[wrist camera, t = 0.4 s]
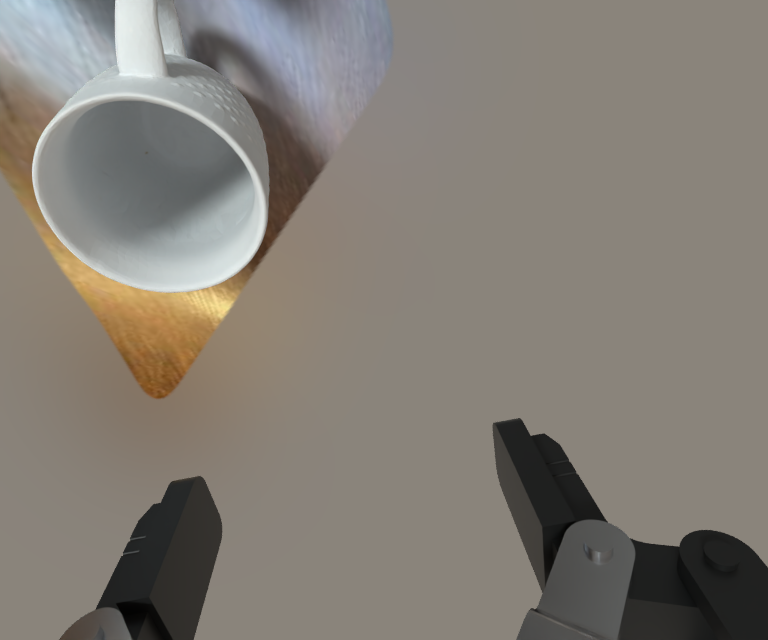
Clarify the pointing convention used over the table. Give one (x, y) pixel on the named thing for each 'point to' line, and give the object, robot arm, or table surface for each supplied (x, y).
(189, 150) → the mug
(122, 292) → the table surface
